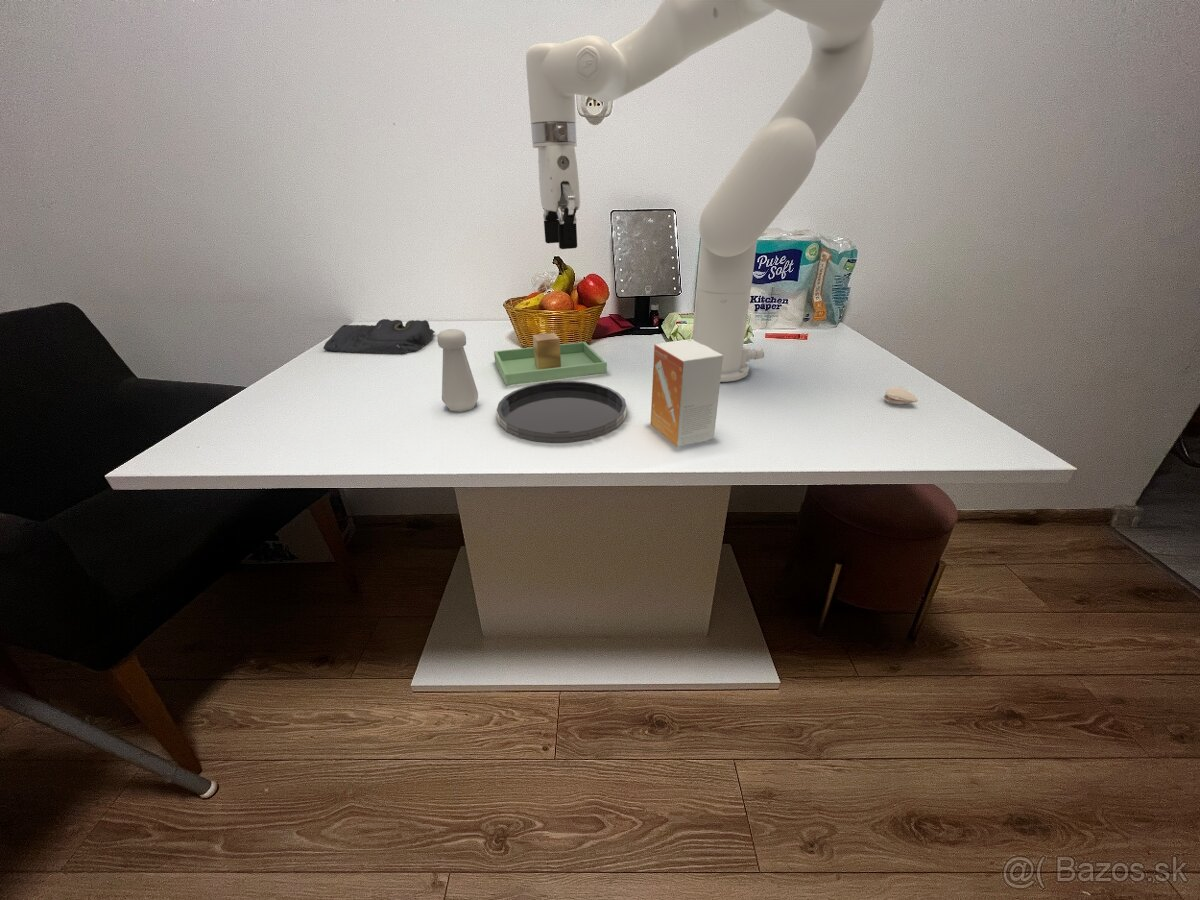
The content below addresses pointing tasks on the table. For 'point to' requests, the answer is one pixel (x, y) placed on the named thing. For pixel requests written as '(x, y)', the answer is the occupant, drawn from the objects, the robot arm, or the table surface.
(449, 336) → the salt shaker
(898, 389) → the beige pistachio shell
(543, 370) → the tray
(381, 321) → the dark crumpled cloth
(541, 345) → the block
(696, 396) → the small box
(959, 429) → the table surface
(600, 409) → the pan
